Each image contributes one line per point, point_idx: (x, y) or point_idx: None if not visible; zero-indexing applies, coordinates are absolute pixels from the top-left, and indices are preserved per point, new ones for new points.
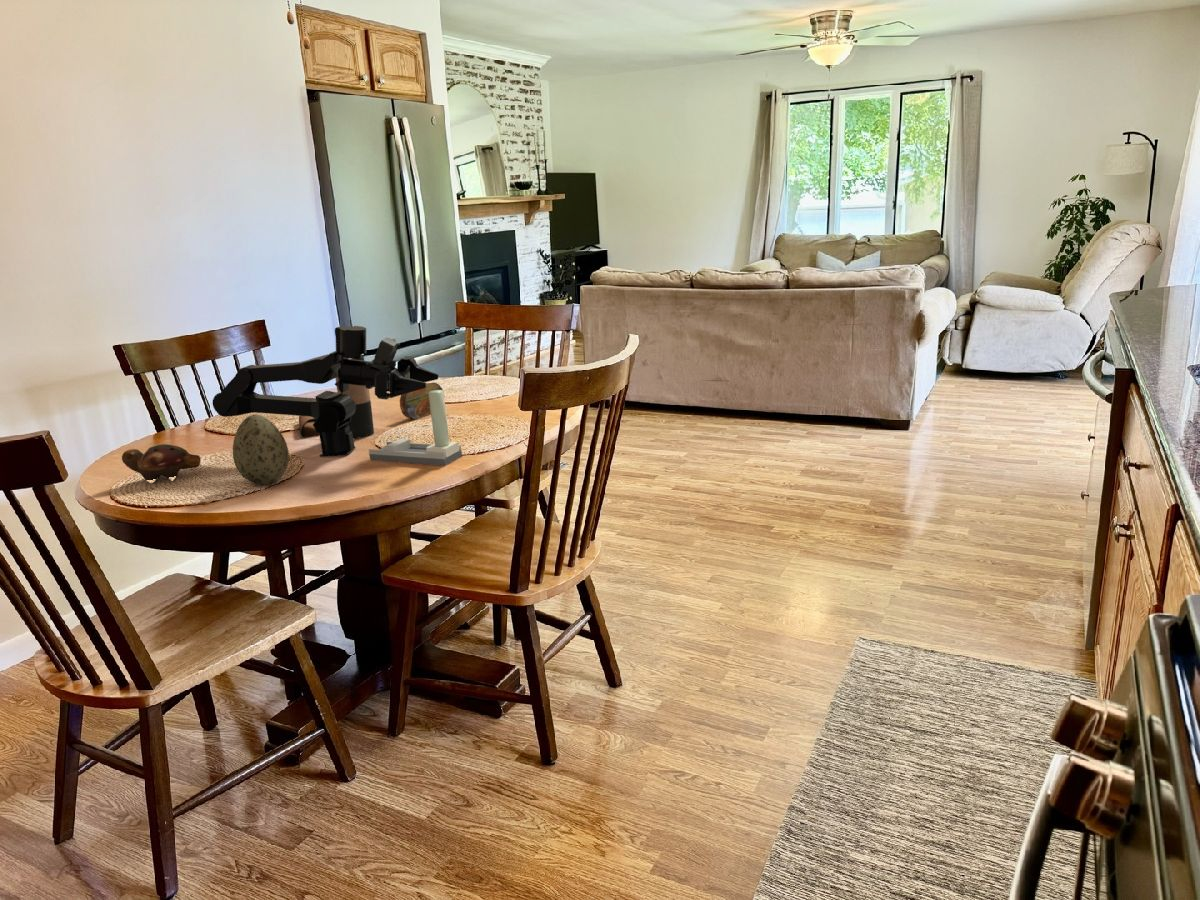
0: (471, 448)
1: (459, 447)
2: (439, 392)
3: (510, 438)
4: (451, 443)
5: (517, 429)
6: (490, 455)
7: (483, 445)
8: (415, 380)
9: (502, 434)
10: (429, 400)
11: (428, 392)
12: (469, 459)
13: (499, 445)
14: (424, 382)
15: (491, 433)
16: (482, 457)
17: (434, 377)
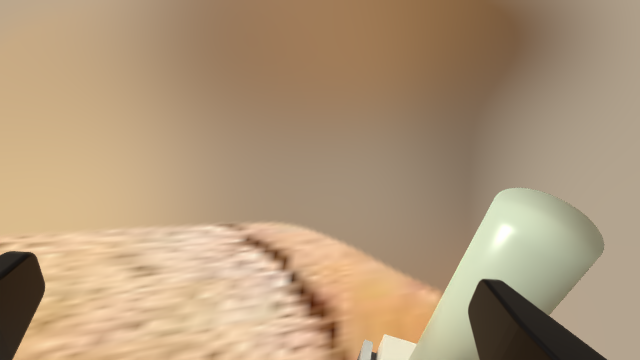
0: (255, 349)
1: (371, 346)
2: (555, 200)
3: (164, 247)
4: (406, 356)
5: (49, 240)
6: (345, 275)
7: (225, 314)
8: (583, 357)
9: (93, 275)
10: (564, 295)
11: (588, 260)
12: (388, 328)
13: (239, 266)
14: (494, 283)
15: (50, 315)
16: (365, 293)
17: (17, 309)
